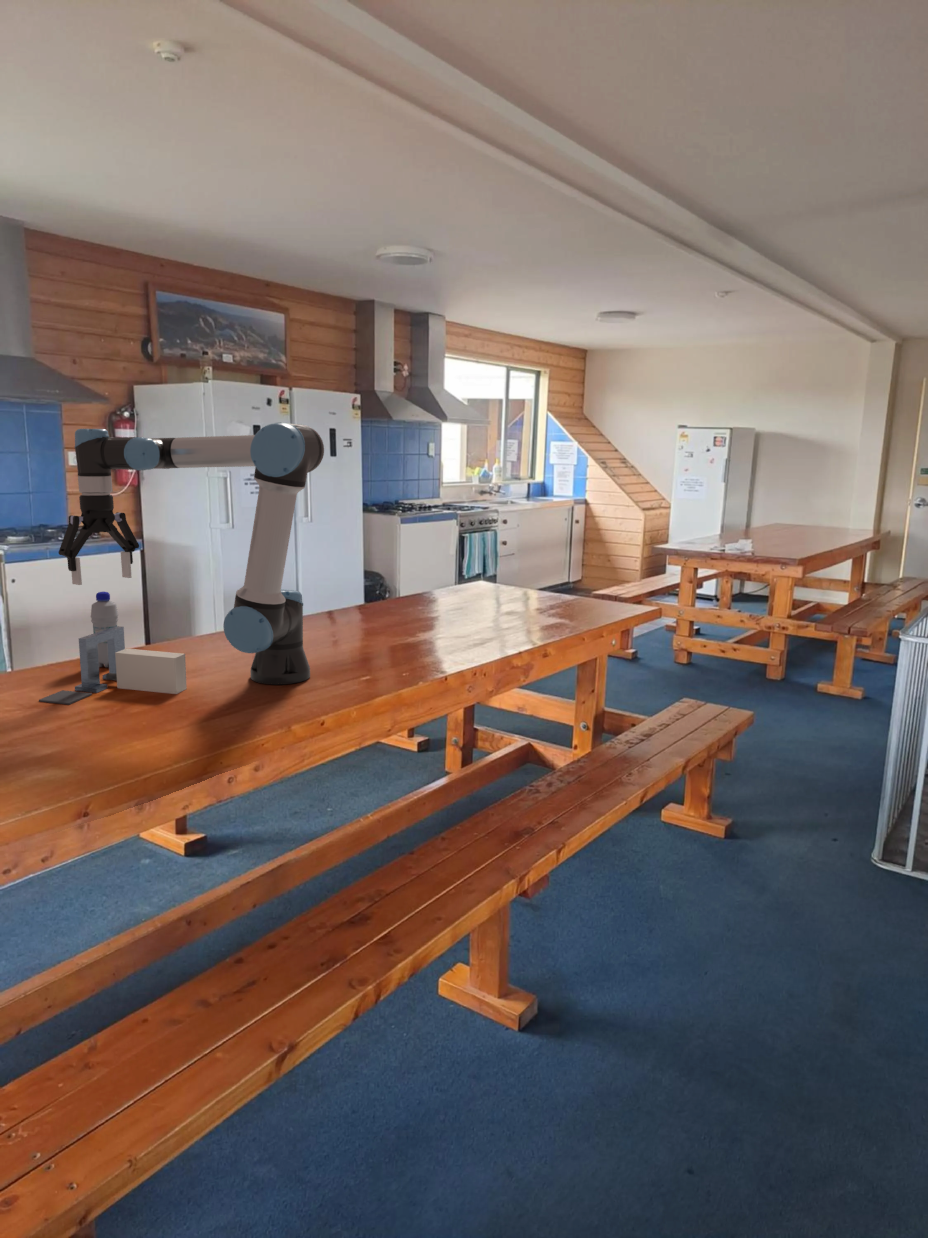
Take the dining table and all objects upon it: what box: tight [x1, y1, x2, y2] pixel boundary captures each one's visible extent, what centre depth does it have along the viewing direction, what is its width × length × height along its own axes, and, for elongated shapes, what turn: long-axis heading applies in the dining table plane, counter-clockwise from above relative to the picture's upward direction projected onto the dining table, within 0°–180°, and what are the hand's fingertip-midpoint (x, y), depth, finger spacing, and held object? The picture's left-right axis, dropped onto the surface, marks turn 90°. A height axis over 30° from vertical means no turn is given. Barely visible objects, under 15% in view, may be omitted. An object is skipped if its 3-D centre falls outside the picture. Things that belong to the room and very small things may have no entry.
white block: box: [106, 648, 187, 695], centre depth 204 cm, size 20×4×9 cm, turn 77°
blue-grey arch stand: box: [74, 625, 126, 694], centre depth 206 cm, size 6×14×13 cm, turn 167°
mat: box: [38, 689, 93, 705], centre depth 195 cm, size 8×8×1 cm
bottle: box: [90, 591, 119, 668], centre depth 222 cm, size 7×7×20 cm
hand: (102, 580), depth 207 cm, fingers open, 13 cm apart
